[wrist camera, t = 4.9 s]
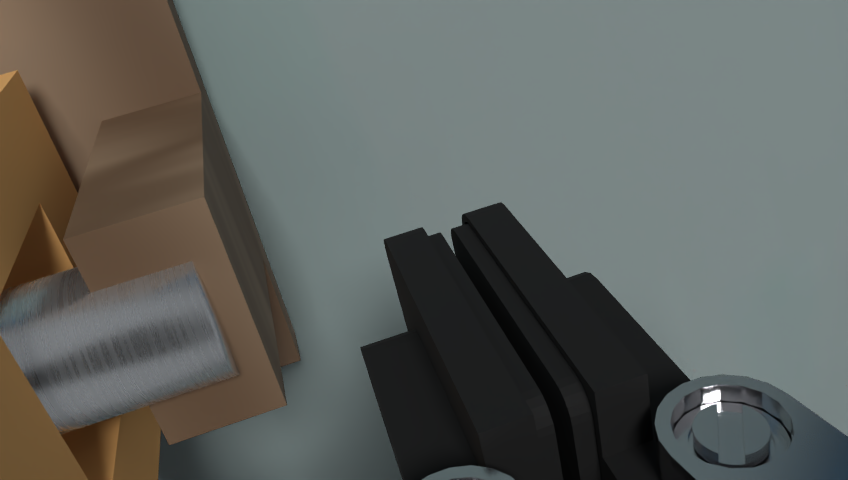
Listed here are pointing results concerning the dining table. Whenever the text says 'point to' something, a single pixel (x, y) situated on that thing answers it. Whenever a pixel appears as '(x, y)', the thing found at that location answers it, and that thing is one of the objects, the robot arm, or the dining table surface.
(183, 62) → the stand
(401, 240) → the robot arm
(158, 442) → the collar
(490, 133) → the dining table surface
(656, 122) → the dining table surface
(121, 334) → the pipe
